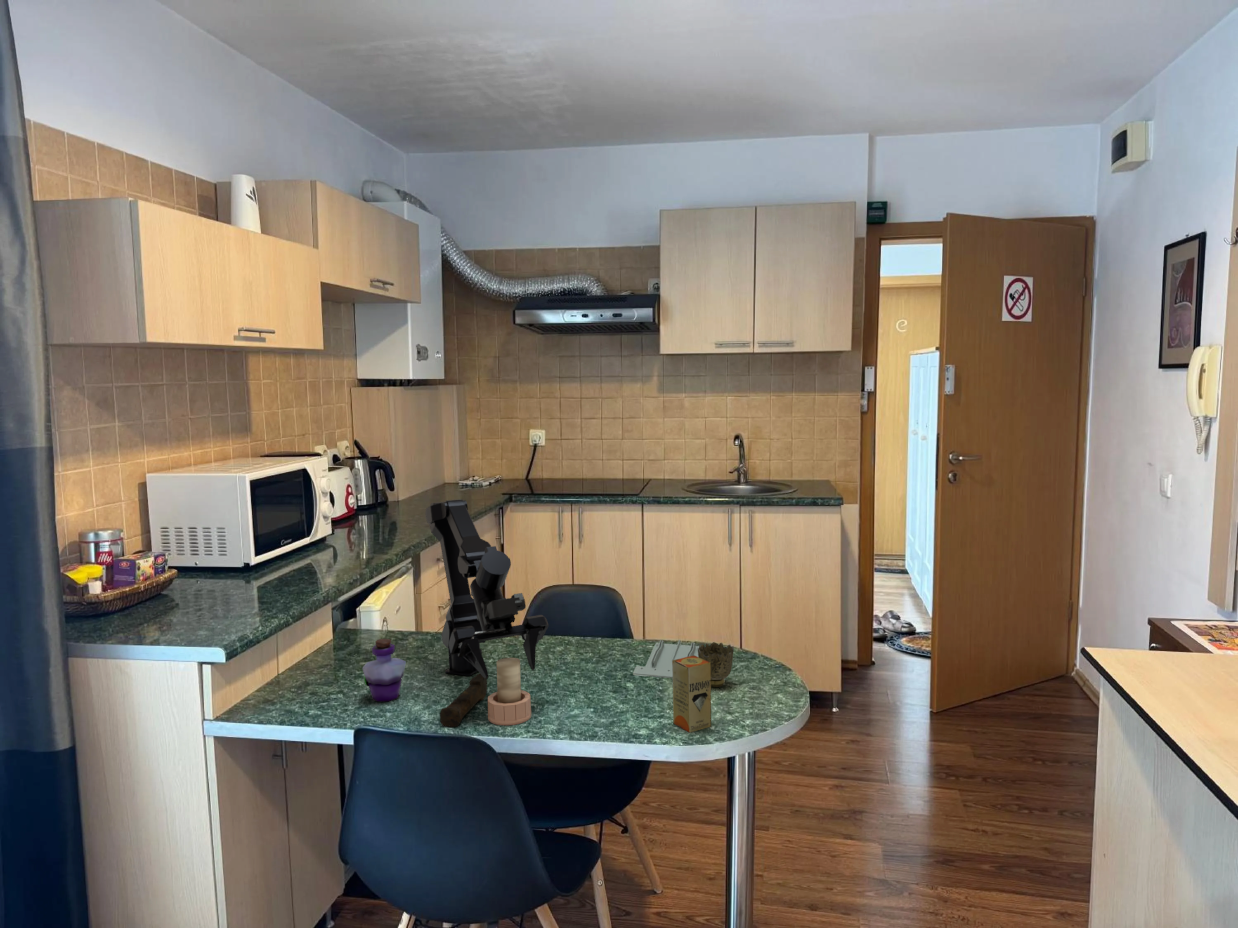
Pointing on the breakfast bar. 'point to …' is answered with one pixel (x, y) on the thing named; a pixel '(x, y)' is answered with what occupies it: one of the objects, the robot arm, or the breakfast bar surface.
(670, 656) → the metal bracket
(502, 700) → the birch peg
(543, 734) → the breakfast bar surface
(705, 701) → the shoe polish box
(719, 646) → the brown speckled footed container
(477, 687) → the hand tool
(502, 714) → the terracotta cup
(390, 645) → the potion bottle
